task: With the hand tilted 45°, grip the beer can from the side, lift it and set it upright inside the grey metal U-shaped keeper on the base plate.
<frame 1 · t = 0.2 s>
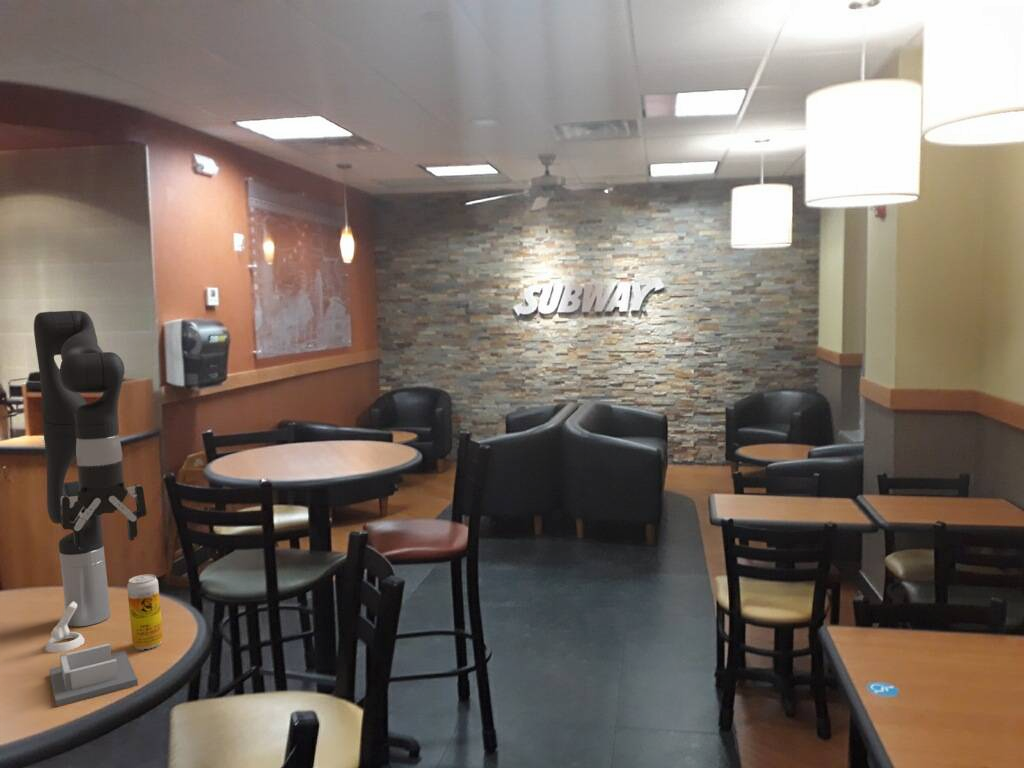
hand: (106, 544, 155), 29 cm above the table, tool pointing down, fingers open, 8 cm apart
beer can: (148, 646, 179), on the table
hook: (65, 646, 181), on the table
keeper: (93, 679, 163), on the table
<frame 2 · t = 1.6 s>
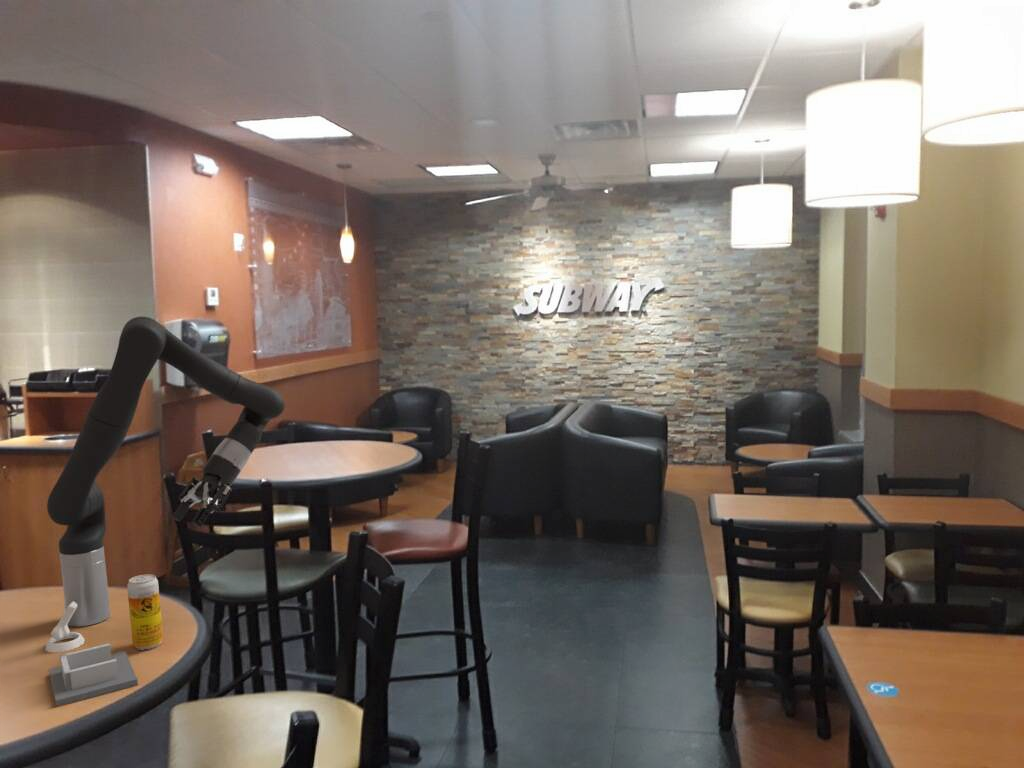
hand: (185, 522, 185), 25 cm above the table, tool tilted 45°, fingers open, 8 cm apart
nothing on the table moved.
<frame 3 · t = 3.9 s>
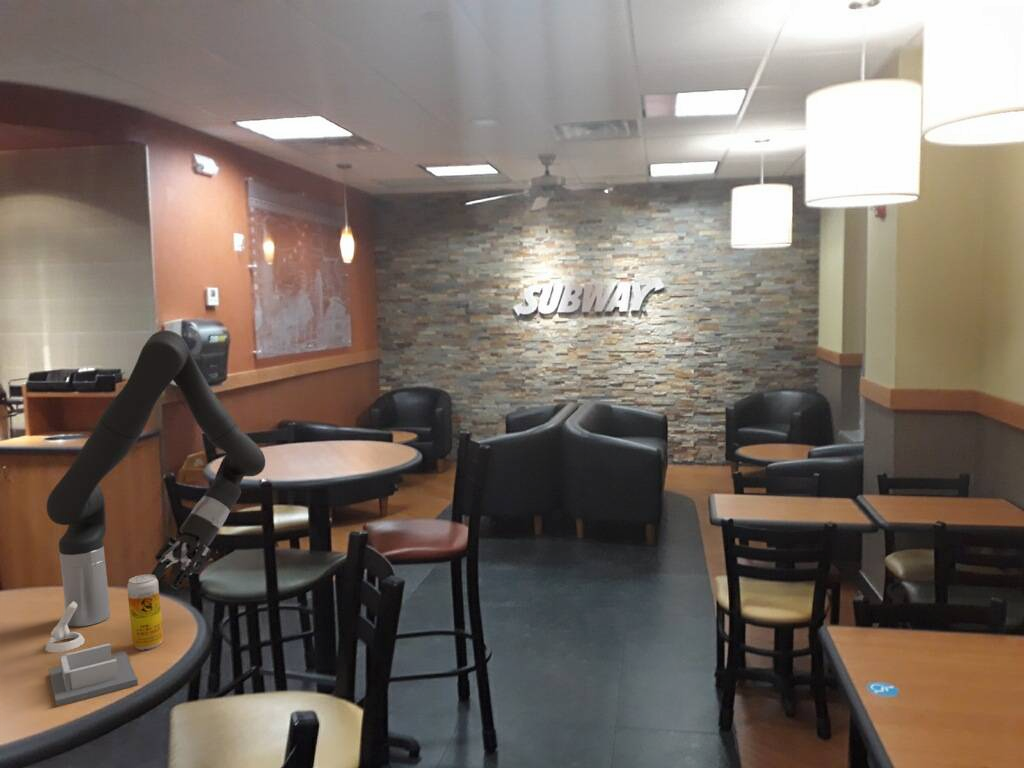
hand: (163, 584, 181), 12 cm above the table, tool tilted 45°, fingers open, 8 cm apart
nothing on the table moved.
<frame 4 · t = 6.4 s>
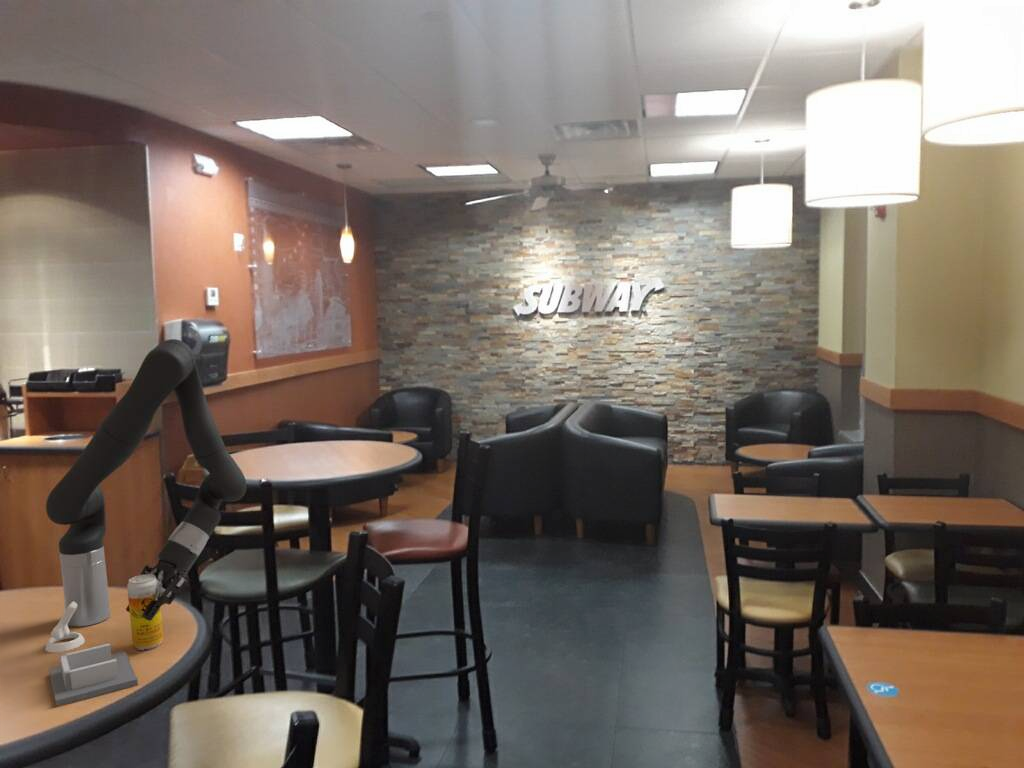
hand: (137, 615, 177), 7 cm above the table, tool tilted 45°, fingers closed on beer can, 6 cm apart
beer can: (148, 646, 179), on the table, touching gripper
everything else where it was.
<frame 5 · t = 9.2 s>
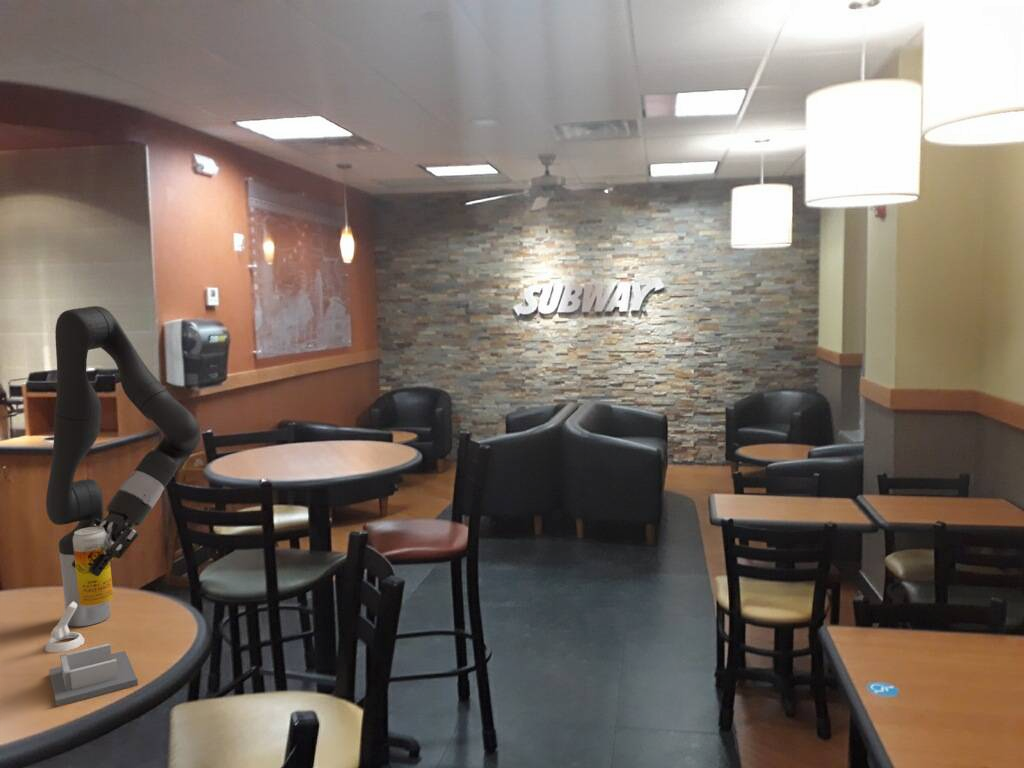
hand: (84, 570, 161), 22 cm above the table, tool tilted 45°, fingers closed on beer can, 6 cm apart
beer can: (97, 604, 164), point 15 cm above the table, touching gripper
everything else where it was.
when the fingers open (10 cm above the table, at t = 12.3 s): beer can drops 1 cm, resting on keeper.
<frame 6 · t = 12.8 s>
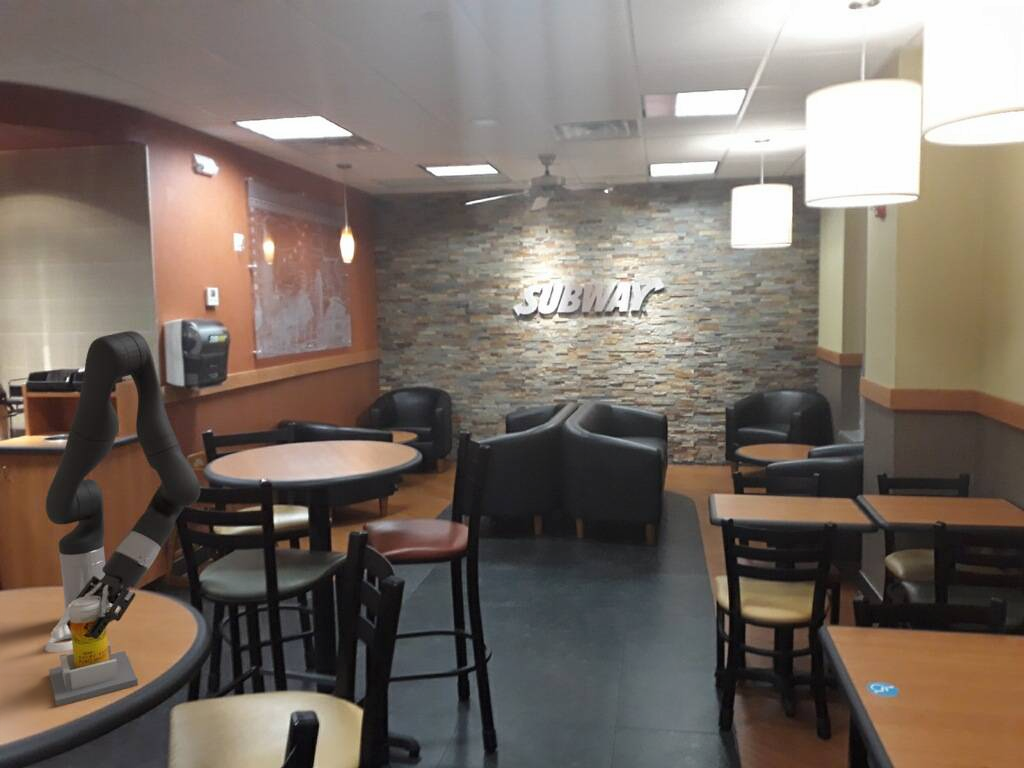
hand: (81, 632, 161), 10 cm above the table, tool tilted 45°, fingers open, 8 cm apart
beer can: (93, 674, 163), point 1 cm above the table, touching keeper
everything else where it was.
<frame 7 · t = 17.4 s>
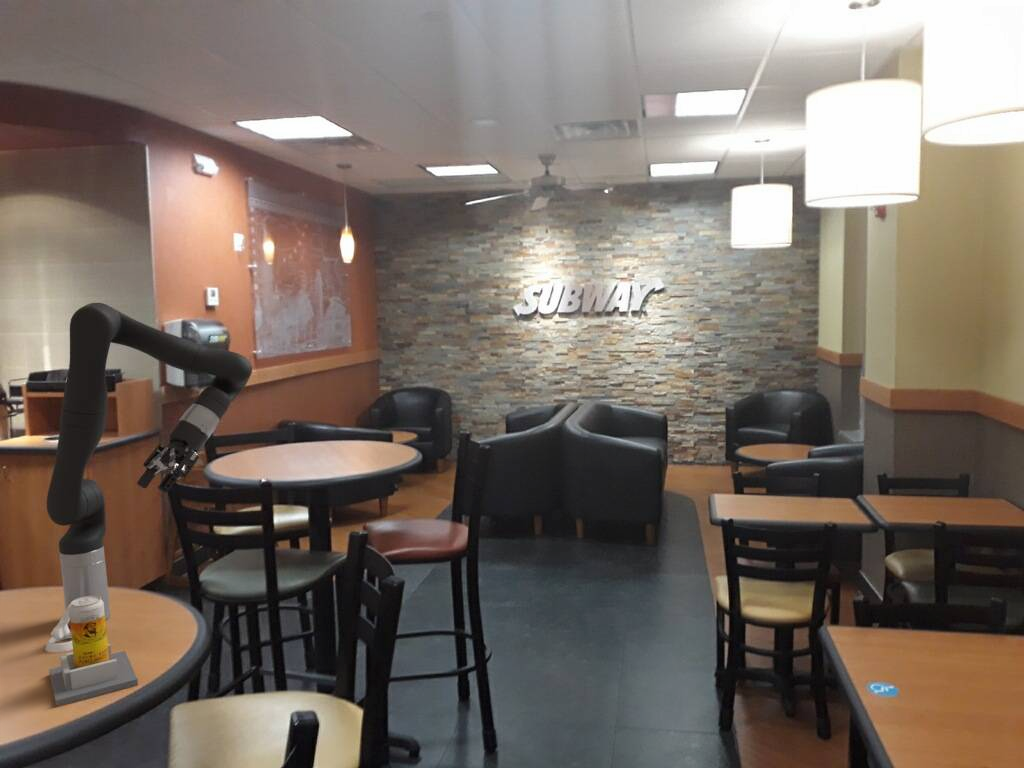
hand: (151, 488, 179), 34 cm above the table, tool tilted 45°, fingers open, 8 cm apart
nothing on the table moved.
at the end: beer can 0.4 cm off-centre on the keeper, point 1.0 cm above the keeper's base; beer can tilted 0°; the gripper is holding nothing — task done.
